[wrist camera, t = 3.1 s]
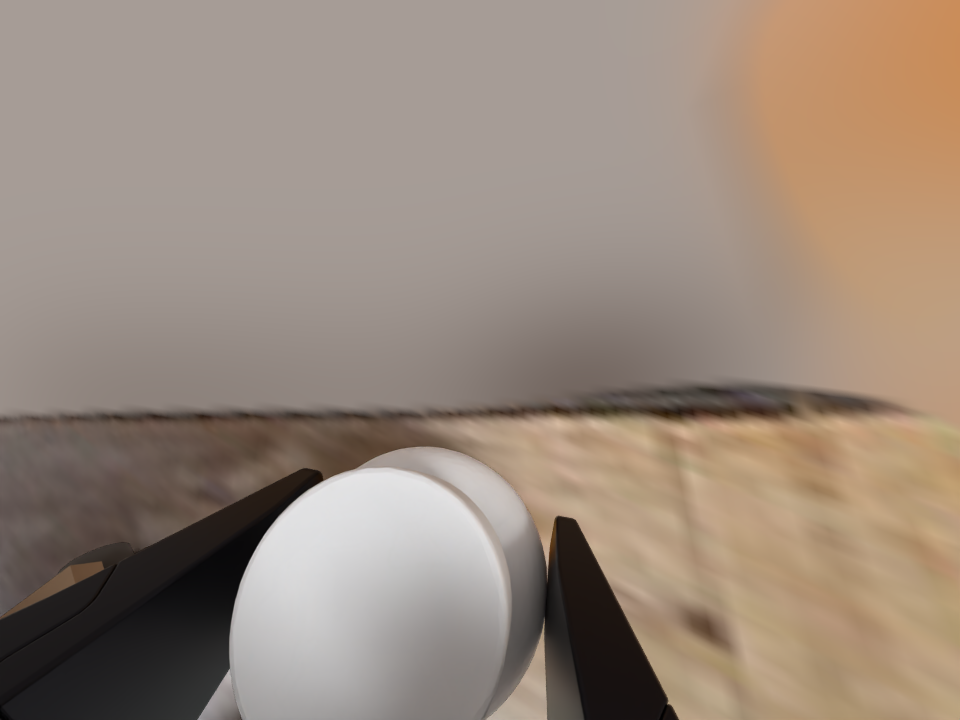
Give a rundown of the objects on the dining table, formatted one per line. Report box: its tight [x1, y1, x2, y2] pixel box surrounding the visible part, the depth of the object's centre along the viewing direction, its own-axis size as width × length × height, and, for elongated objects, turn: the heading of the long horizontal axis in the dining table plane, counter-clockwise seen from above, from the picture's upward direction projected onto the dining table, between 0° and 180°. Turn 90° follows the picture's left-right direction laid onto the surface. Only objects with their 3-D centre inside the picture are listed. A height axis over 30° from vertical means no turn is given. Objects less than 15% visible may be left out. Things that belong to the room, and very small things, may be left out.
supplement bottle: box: [229, 447, 547, 720], centre depth 10 cm, size 5×5×10 cm
